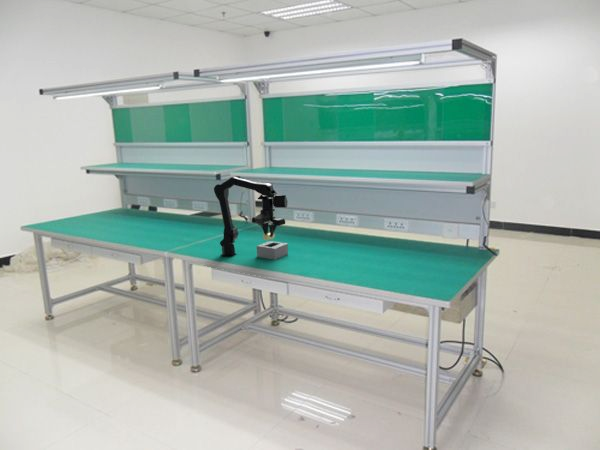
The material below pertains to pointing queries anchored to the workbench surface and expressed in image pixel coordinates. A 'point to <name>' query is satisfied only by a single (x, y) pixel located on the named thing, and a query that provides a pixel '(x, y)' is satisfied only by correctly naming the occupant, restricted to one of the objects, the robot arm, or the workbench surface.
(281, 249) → the slot box
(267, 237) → the tall cream wooden block
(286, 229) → the workbench surface
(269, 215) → the robot arm
